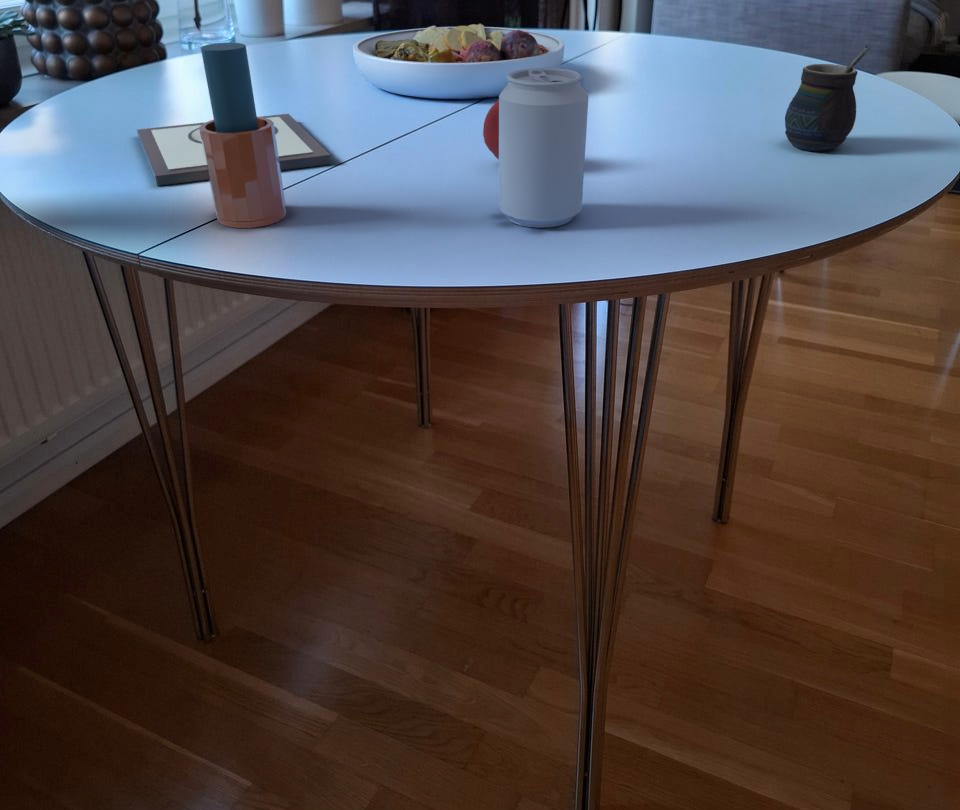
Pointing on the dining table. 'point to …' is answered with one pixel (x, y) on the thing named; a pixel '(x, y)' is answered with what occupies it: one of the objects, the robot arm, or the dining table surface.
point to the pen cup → (244, 175)
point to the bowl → (453, 59)
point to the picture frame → (182, 153)
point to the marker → (230, 87)
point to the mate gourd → (823, 106)
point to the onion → (492, 130)
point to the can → (542, 146)
